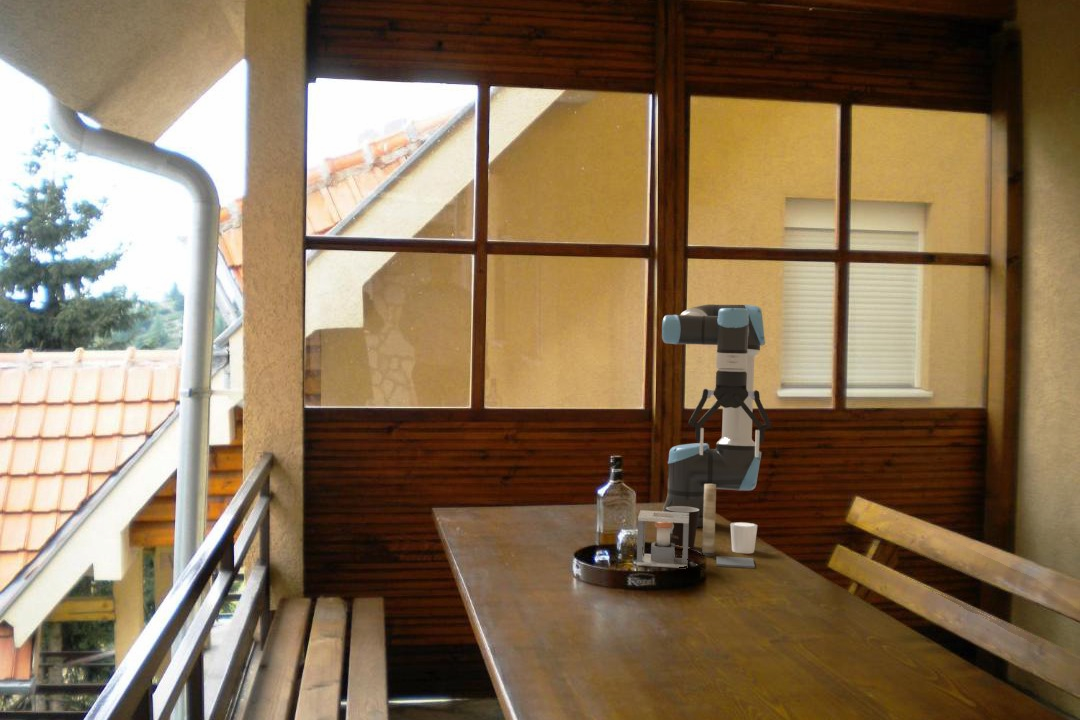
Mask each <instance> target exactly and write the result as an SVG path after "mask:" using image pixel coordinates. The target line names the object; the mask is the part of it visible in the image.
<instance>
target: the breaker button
mask: <svg viewBox="0 0 1080 720" xmlns="http://www.w3.org/2000/svg"><path fill="white" fill-rule="evenodd" d="M654 527H655V528H656V542H657V545H658V546H670V528H672V527H673V523H672V522H654Z"/></svg>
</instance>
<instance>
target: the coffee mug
mask: <svg viewBox="0 0 1080 720" xmlns="http://www.w3.org/2000/svg"><path fill="white" fill-rule="evenodd" d="M666 512H683V513H689V534H688V547H690V548H693V549H694V548H695V541H696V535H697V529H698V527H697V523H698V516H699V509H697V508H693V507H685V506H672V507H667V508H666ZM670 543H673V544H675V545H679V546H683V523H673V527H672V528H670Z"/></svg>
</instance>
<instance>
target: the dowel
mask: <svg viewBox="0 0 1080 720" xmlns="http://www.w3.org/2000/svg"><path fill="white" fill-rule="evenodd" d="M716 500H717V489H716V484H704V507H703V527H702V546H701V548H702V549H701V550H702V551H701V554H702V553H703V554H704V555H705V556H704V557H706V558H711V557H715V540H716V539H715V538H716V537H715V535H716V505H717V504H716V503H717V501H716Z"/></svg>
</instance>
